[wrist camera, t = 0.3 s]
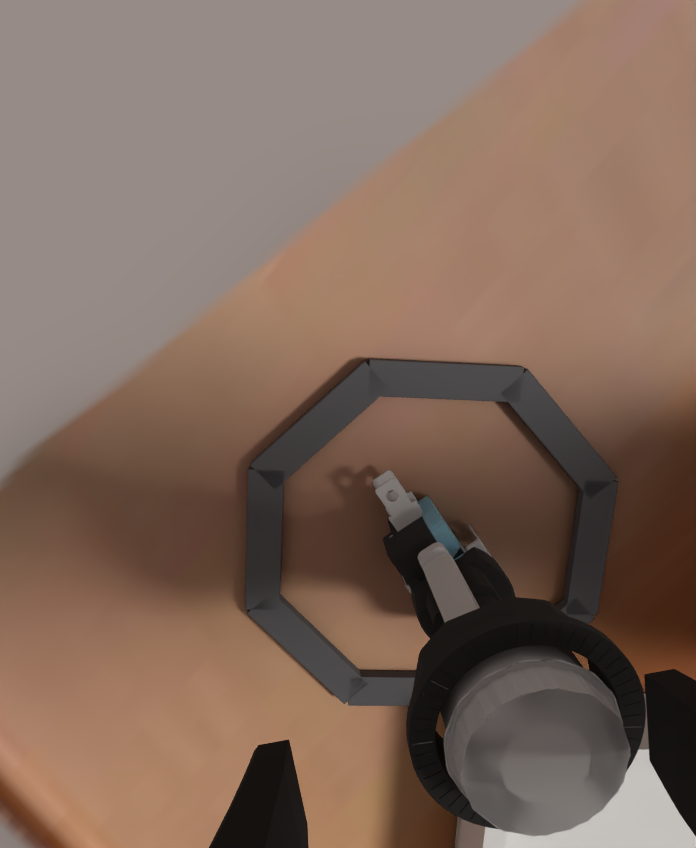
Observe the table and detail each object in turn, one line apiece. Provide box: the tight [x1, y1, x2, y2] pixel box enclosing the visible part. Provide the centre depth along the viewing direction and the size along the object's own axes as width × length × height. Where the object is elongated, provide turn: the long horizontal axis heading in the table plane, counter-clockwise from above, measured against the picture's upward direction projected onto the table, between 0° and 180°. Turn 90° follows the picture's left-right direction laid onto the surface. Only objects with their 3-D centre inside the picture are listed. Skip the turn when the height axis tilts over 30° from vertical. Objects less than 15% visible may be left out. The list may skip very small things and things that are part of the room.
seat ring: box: [245, 359, 618, 706], centre depth 22 cm, size 13×13×1 cm
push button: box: [372, 470, 646, 837], centre depth 17 cm, size 7×5×10 cm
